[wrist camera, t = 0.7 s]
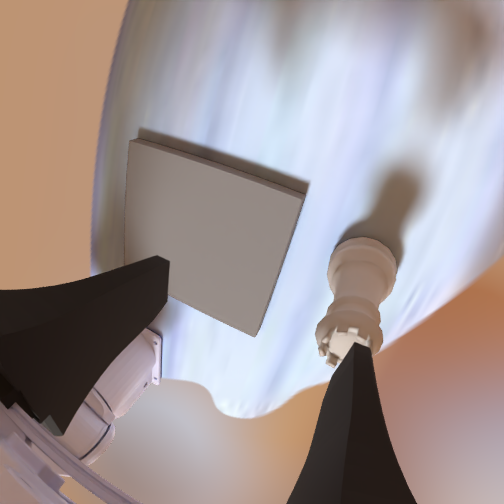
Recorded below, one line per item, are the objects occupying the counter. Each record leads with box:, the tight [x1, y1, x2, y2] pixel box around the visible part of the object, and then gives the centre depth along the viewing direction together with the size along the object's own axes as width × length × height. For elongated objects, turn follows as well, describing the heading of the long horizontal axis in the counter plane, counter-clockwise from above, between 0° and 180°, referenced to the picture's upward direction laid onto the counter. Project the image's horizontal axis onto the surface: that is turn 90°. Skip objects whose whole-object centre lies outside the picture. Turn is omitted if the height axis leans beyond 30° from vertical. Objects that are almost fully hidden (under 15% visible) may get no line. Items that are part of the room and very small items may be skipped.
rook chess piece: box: [315, 237, 397, 368], centre depth 17 cm, size 4×4×8 cm
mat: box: [124, 138, 306, 337], centre depth 24 cm, size 12×13×1 cm
